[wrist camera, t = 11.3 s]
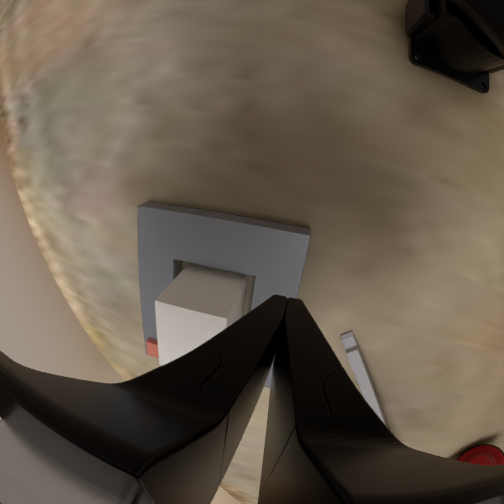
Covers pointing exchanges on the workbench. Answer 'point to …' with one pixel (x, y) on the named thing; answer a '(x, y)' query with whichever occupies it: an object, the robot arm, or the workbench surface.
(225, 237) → the socket
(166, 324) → the plug
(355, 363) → the caliper
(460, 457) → the headphones
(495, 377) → the workbench surface
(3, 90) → the workbench surface
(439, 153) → the workbench surface
